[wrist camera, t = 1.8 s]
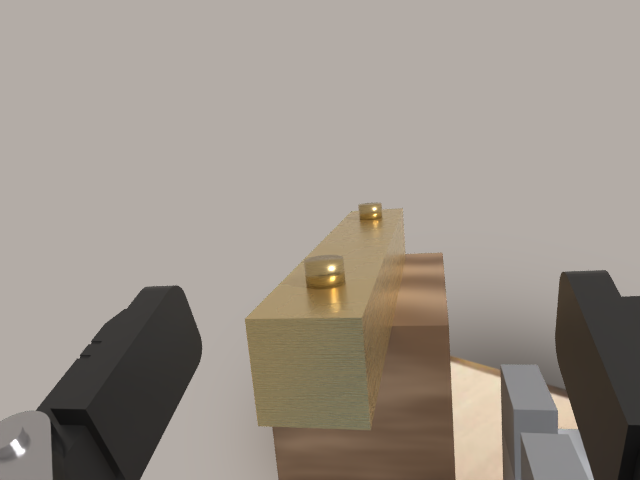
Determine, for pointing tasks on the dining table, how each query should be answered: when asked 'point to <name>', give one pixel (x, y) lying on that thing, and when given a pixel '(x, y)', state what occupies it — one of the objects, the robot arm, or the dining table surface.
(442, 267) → the stand
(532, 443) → the post
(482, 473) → the dining table surface
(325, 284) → the gold studded block
